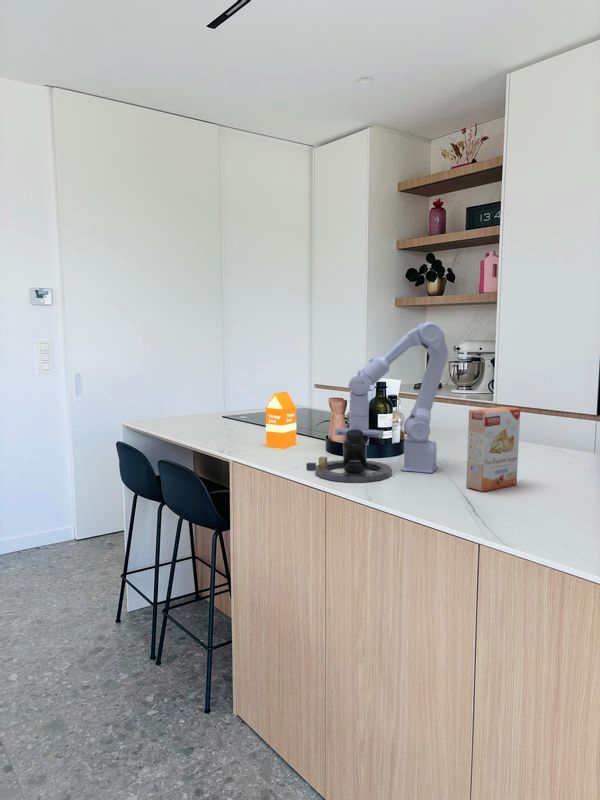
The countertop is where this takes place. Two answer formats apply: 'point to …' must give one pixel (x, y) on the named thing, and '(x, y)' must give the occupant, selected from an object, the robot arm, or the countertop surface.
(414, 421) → the robot arm
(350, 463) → the supplement bottle
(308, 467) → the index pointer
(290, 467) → the countertop surface
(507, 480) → the cracker box
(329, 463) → the ring
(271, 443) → the orange juice
